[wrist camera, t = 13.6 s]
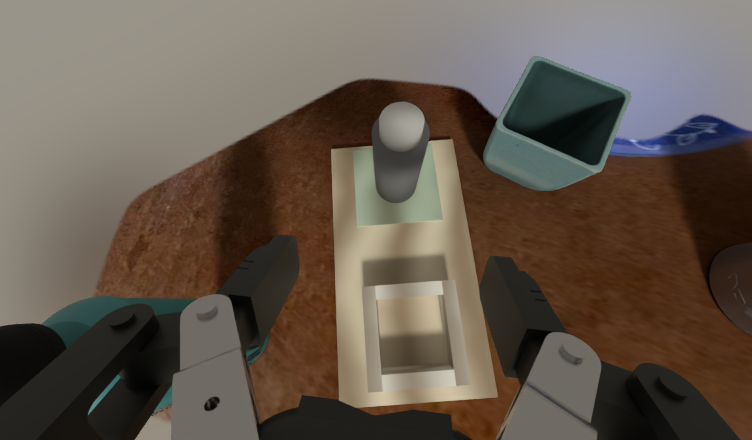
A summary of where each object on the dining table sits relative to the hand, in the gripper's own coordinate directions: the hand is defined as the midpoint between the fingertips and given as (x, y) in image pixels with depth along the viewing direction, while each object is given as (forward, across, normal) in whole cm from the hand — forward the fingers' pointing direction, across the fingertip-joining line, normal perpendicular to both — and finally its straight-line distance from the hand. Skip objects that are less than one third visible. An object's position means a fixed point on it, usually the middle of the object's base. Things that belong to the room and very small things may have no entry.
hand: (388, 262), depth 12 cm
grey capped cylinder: (+19, 0, +4) cm, 19 cm away
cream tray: (+14, -1, +10) cm, 17 cm away
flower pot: (+23, -13, +2) cm, 27 cm away
